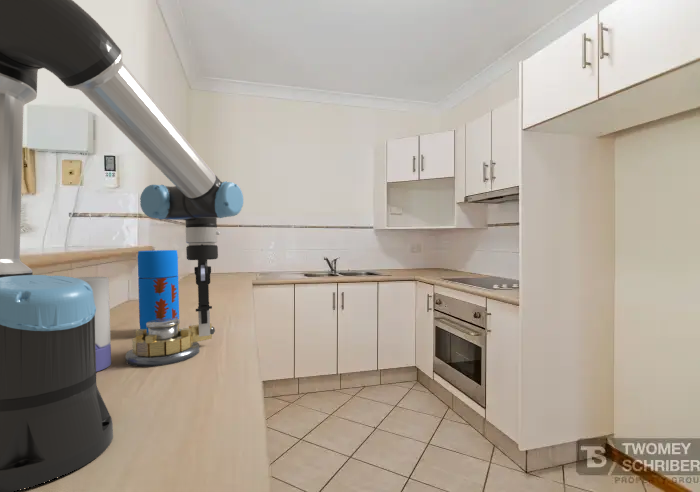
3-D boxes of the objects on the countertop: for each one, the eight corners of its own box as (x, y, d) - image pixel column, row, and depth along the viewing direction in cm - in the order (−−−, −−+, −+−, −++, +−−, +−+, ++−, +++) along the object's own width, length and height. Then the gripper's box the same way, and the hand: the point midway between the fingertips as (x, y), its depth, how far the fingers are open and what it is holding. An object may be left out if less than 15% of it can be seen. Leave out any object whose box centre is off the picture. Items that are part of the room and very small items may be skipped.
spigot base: (160, 370, 78) (159, 332, 78) (109, 362, 84) (108, 326, 84) (214, 348, 93) (214, 316, 93) (169, 342, 99) (168, 312, 99)
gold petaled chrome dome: (142, 360, 79) (142, 340, 79) (127, 348, 88) (126, 330, 88) (225, 341, 93) (225, 324, 93) (204, 332, 102) (204, 317, 102)
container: (98, 358, 86) (95, 275, 86) (120, 365, 81) (117, 277, 81) (46, 372, 78) (43, 280, 77) (67, 381, 73) (64, 282, 72)
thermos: (142, 330, 113) (139, 250, 113) (179, 326, 118) (177, 249, 117) (138, 338, 103) (135, 251, 103) (179, 334, 108) (177, 250, 107)
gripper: (218, 243, 88) (221, 339, 89) (216, 244, 100) (219, 328, 101) (184, 244, 86) (187, 343, 86) (187, 244, 98) (189, 331, 98)
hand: (204, 335), depth 93 cm, fingers closed
